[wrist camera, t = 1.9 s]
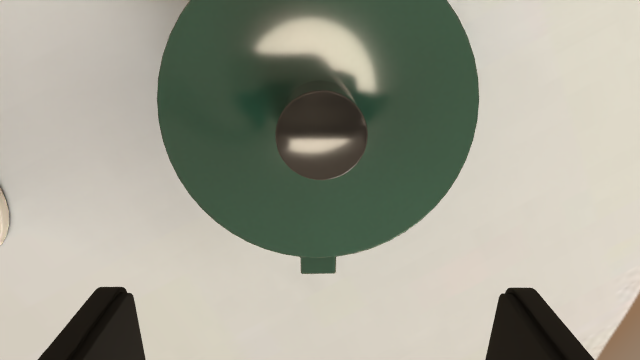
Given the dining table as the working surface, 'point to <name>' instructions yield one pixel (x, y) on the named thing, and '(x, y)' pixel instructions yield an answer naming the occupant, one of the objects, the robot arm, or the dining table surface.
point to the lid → (317, 117)
